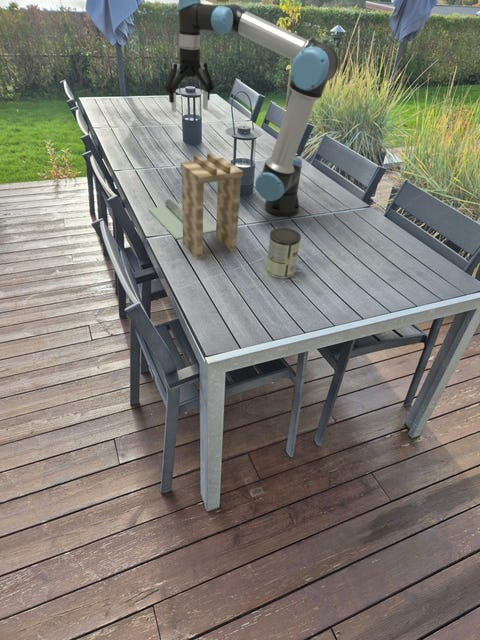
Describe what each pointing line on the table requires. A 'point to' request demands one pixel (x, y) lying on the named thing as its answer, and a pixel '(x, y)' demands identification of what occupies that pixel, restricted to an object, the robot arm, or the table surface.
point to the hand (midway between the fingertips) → (189, 110)
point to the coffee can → (282, 252)
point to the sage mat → (176, 221)
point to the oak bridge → (226, 201)
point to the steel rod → (174, 208)
